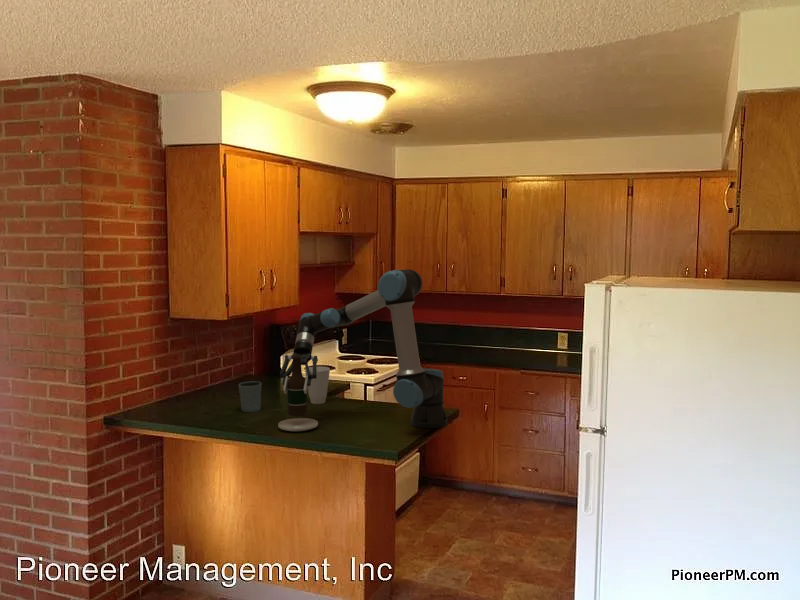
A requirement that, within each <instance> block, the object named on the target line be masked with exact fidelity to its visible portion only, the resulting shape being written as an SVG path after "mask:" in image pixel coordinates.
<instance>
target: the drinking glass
mask: <svg viewBox="0 0 800 600" xmlns="http://www.w3.org/2000/svg"><path fill="white" fill-rule="evenodd" d="M237 386H238V391H239V401H240V410H241V411H242V412H245V413H254V412H259V411H261V409H262V407H261V405H262V402H261V401H262V395H261V394H262V382H261V381H255V380H254V381H252V380H251V381H243V382H240V383H239V384H238V385H237Z"/></svg>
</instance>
